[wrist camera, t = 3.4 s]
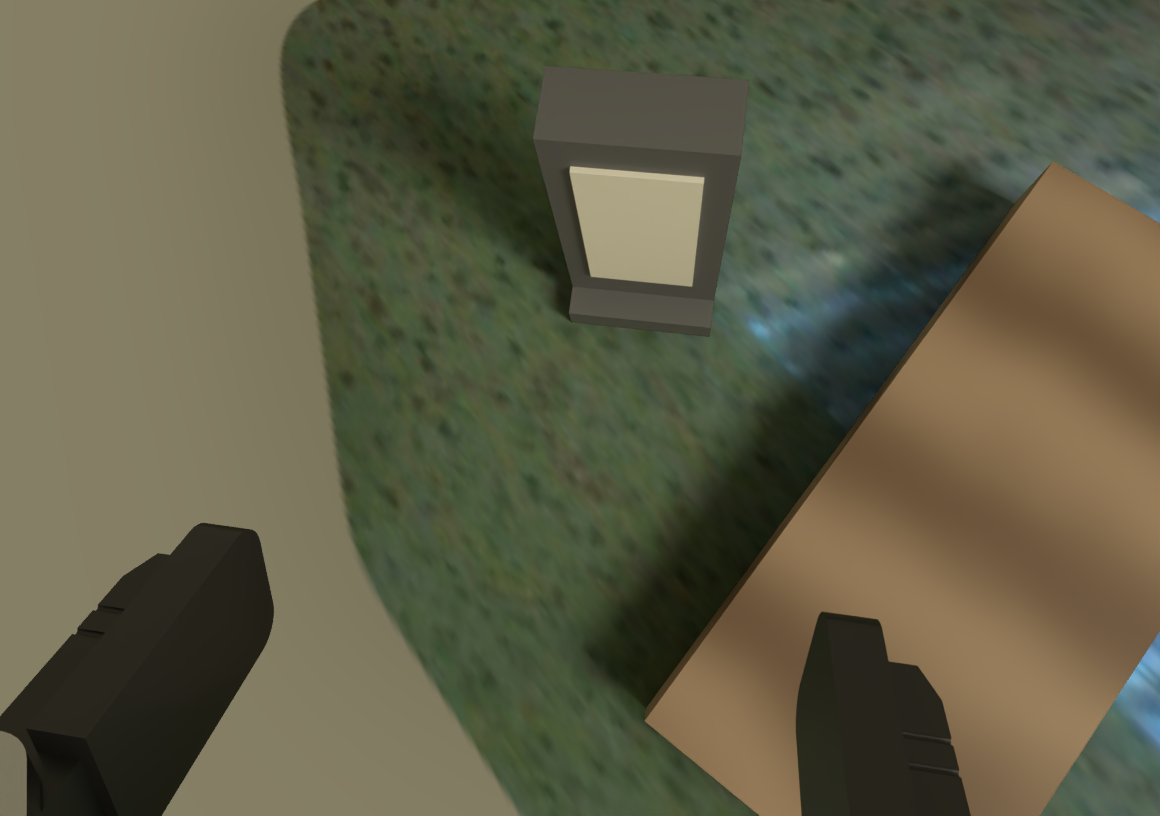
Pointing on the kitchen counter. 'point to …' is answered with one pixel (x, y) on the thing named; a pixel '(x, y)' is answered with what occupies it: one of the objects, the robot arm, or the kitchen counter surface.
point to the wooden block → (971, 521)
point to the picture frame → (641, 190)
